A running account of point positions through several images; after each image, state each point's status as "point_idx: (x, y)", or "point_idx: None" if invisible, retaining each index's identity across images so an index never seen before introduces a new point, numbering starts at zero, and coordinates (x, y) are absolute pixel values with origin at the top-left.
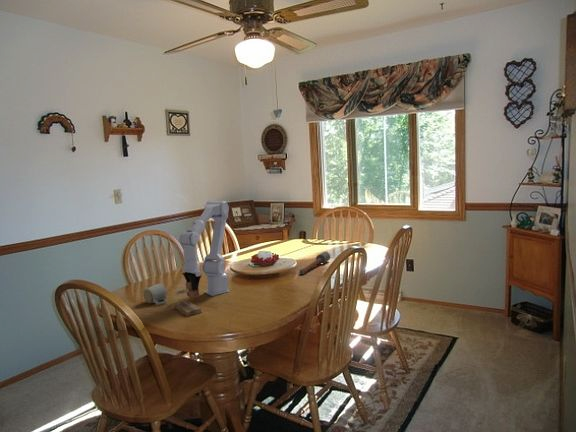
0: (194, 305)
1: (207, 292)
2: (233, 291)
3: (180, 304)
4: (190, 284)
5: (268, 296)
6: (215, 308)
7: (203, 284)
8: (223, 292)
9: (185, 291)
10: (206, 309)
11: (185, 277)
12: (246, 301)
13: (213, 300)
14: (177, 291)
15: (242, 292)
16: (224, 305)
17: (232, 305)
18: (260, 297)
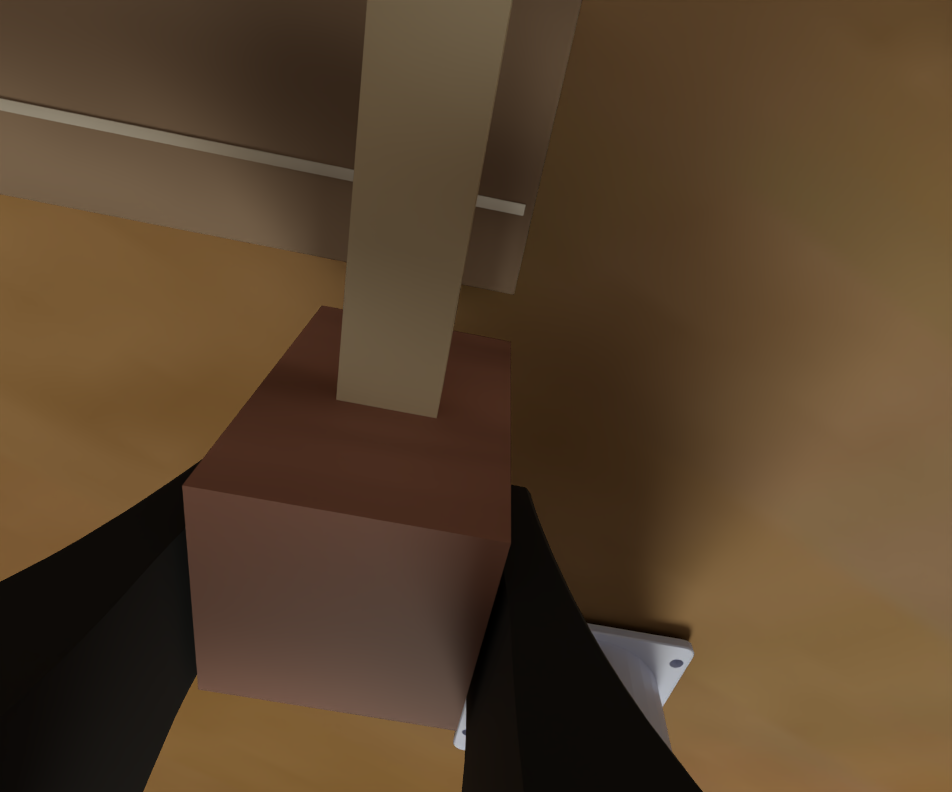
0: (153, 209)
1: (621, 643)
2: (431, 750)
3: None
4: (189, 514)
5: None
6: (45, 391)
7: (915, 759)
8: (464, 704)
9: (353, 293)
10: (80, 302)
11: (566, 749)
12: None
13: None
14: (474, 86)
15: (336, 761)
16: (87, 503)
17: (31, 542)
18: None
